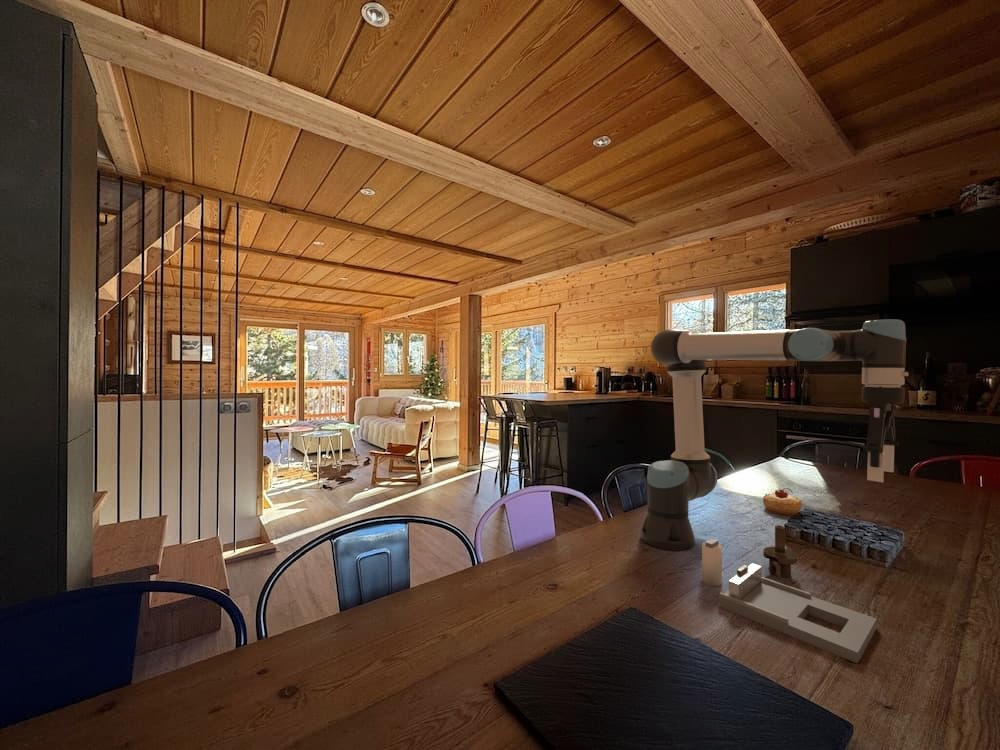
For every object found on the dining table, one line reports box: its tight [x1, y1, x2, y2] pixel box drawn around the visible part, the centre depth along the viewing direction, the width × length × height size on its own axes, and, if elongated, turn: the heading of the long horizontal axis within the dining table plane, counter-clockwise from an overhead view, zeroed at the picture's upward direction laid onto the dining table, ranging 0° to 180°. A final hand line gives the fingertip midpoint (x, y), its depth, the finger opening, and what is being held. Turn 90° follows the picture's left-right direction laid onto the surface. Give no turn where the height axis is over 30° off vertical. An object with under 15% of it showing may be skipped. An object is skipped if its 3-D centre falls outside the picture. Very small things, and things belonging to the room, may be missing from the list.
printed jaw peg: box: [701, 538, 723, 587], centre depth 106 cm, size 4×4×10 cm
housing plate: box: [718, 576, 878, 664], centre depth 91 cm, size 24×16×3 cm, turn 40°
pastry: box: [762, 487, 803, 516], centre depth 157 cm, size 12×12×9 cm
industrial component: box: [763, 524, 798, 578], centre depth 110 cm, size 9×7×12 cm
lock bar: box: [728, 563, 763, 599], centre depth 98 cm, size 2×13×4 cm, turn 130°
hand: (880, 476), depth 102 cm, fingers open, 13 cm apart
